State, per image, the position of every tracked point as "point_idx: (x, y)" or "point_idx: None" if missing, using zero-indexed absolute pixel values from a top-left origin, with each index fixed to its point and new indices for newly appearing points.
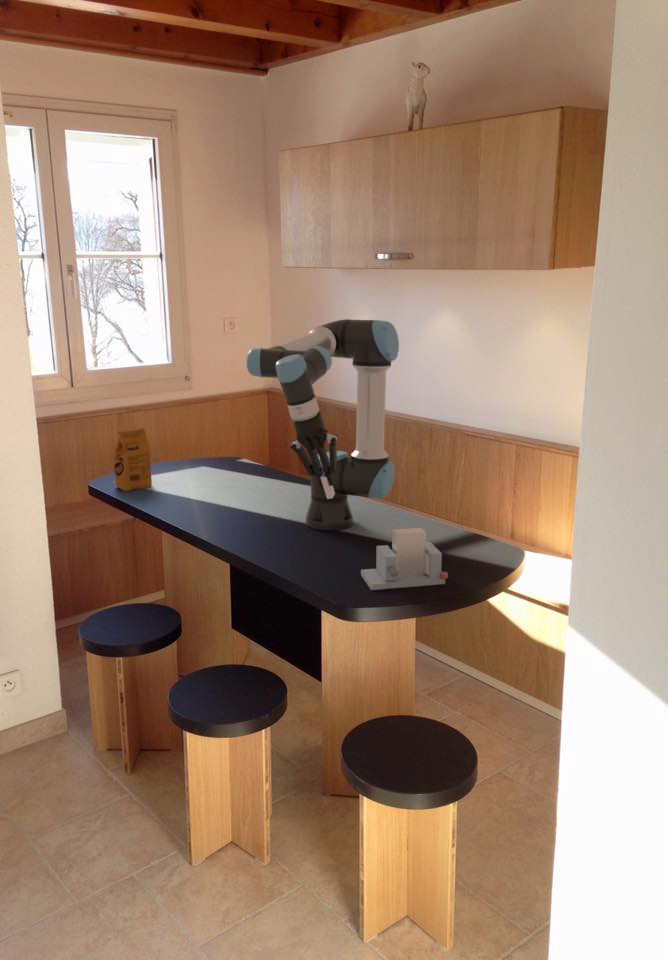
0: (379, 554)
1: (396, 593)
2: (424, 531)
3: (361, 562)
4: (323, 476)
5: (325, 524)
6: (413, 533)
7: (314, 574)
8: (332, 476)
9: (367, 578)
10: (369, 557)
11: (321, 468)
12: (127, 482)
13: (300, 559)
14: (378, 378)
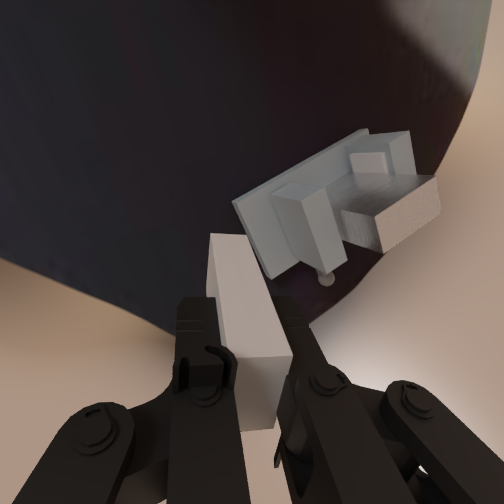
0: (302, 225)
1: (308, 273)
2: (439, 207)
3: (213, 109)
4: (250, 424)
5: None
6: (416, 229)
7: (118, 230)
8: (313, 350)
9: (259, 250)
10: (225, 62)
11: (237, 432)
12: None
13: (14, 113)
14: None
